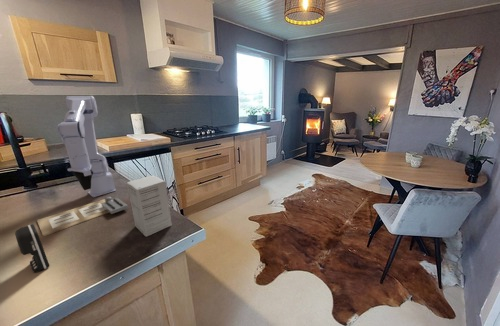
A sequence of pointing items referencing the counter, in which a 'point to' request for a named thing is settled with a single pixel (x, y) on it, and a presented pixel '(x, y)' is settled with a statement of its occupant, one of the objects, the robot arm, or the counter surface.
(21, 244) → the battery charger
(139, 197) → the supplement box
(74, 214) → the label board
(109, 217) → the counter surface
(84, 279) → the counter surface
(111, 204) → the grey slotted block
